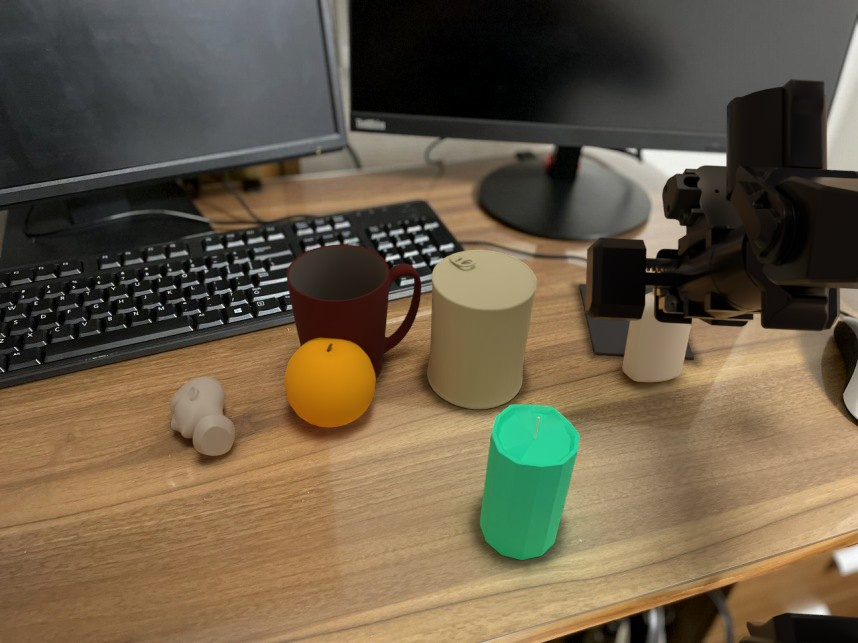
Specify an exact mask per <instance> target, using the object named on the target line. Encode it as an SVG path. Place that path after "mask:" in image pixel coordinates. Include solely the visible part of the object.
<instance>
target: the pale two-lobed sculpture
mask: <svg viewBox="0 0 858 643" xmlns="http://www.w3.org/2000/svg"><path fill="white" fill-rule="evenodd" d="M225 402H226V390H225V388H224V386H223V384H222V383H221V382H220V381H219V380H217V379H216V378H214V377H210V376H199V377H195V378H192V379H190V380H189V381H187V382H185V383H184V384H183V385H182V386H181V387H180V388H178V390H177V391H176V392H175V394H174V395H173V396H172V398H171V400H170V406H169V410H170V413H171V422H170V428H171V430H173V431H175V432H178V433H180V434H181V436H182V437H183V438H185V439H192V445H193V447H194V450H196V451H197V452H198V453H199V454H202V455H206V456H210V457H211V456H212V457H213V456H214V457H215V456H221V455H224V454H226V453H228V452H229V451H230V450H231V448H232V447H233V445H234V442H235V439H236V428H235V425H234V422H232V420H231V419H229V418H228V417H227V416H225V414H224V412H223V410H224V407H225Z"/></svg>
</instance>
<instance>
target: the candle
mask: <svg viewBox="0 0 858 643" xmlns="http://www.w3.org/2000/svg"><path fill="white" fill-rule="evenodd" d="M580 438H581V434H580V433H579V431H578V430H577V429H576V427H574V425H573V424H572V423H571V421H570V420H569V419H567V418H566V417H565V416H564V415H563V414H562V413H561V412H559V410H557V409H556V407H554V406H552V405H551V406H550V405H541V404H527V403H526V404H509V405H508V406H507V407H506V408H505V409H503V410H502V411H500V412H499V413H498V414H497V415H496V416H495V418H494V422H493V425H492V429H491V433H490V441H489V446H488V447H489V448H488V455H487V461H486V462H487V463H486V472H485V477H484V478H485V479H484V486H483V487H484V488H483V493H482V502H481V508H480V509H481V510H480V517H479V527H480V529H481V532H482V535H483V538H484V541H485V542H486V543H487V544H488V545H489V546H491V548H493V549H494V550H495V551H496V552H498V553H499V555H501V556H505V557H507V558H508V557H509V558H511V559H516V560H520V561H525V560H529V559H534V558H539V557H542V556H543V555H544V554H546V552H547V551H549V550H550V548H551V547H552V546H554V544H555V543H556V539H557V535H558V531H559V527H560V523H561V519H562V515H563V511H564V507H565V503H566V501H567V500H566V499H567V495H568V491H569V488H570V483H571V480H572V476H573V472H574V468H575V464H576V460H577V456H578V452H579V446H580Z"/></svg>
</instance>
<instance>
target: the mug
mask: <svg viewBox="0 0 858 643" xmlns="http://www.w3.org/2000/svg"><path fill="white" fill-rule="evenodd" d="M389 267H390V266H389V265H388V262H387V261H386V259H384V257H383V256H381V255H380V254H379V253H377V252H375V251H374V250H371V249H369V248H366V247H363V246H358V245H353V244H329V245H323V246H319V247H315V248H312V249H310V250H307V251H305V252H303V253H302V254H300V255H298V256H297V257H296V258H294V259H293V261H291V262H290V264H289V266H288V268H287V271H286V280H287V281H286V282H287V289H288V294H289V300H290V305H291V310H292V315H293V319H294V324H295V328H296V333H297V337H298V342H299V347H301V346H302V345H304V344H305V343H307V342H308V341H310V340H313V339H316V338H332V339H343V340H347V341H351V342H353V343H355V344H357V345H358V346H359V347H360V348H361V349H362V350H363V351H364V352H365V353H366V354H367V355H368V357H369V359H370V361H371V363H372V366H373V369H374V371H375V376H376V379H377V378H379V375H380V374H381V372H382V368H383V364H384V362H383V361H384V356H385V354H387V352H389V351H391V350H392V349H394V348H395V347H397V346H398V345H399V344H400V343H401V342H402V341H403V340H404V338H405V337H406V336H407V335H408V333H409V332H410V330H411V328H412V326H413V325H414V322H415V320H416V317H417V314H418V312H419V307H420V304H421V296H422V281H421V277H420V274H419V273H418V271H417V269H416V268H415V267H414V266H413V265H411V264H410V263H399V264H396V265H394V266H392V267H391V268H389ZM402 277H411V278H413V291H412V297H411V302H410V305H409V308H408V310H407V313H406V315H405V317H404V319H403V321H402V322H401V324H400V325H399V327H398V328H397V329H396V330H395V331H394V332H393V333H392V334H391V335H390V336H386V332H387V331H386V330H387V320H388V311H389V310H388V308H389V295H390V290H391V286H392V284H393V283H394V282H395V281H396V280H397V279H400V278H402Z"/></svg>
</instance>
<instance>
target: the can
mask: <svg viewBox="0 0 858 643" xmlns="http://www.w3.org/2000/svg"><path fill="white" fill-rule="evenodd" d="M537 288H538V280H537V276H536V273H535V272H534V271H533V270H532V268H531V267H530V266H529V265H527V263H525V262H524V261H522V260H521V259H519V258H517V257H515V256H513V255H510V254H508V253H504V252H500V251H497V250H489V249H469V250H461V251H458V252H455V253H452V254H450V255H447V256H446V257H444V258H442V259H441V260H440V261H438V262H437V263H436V265H435V266H434V268H433V270H432V272H431V314H430V315H431V317H430V318H431V319H430V323H431V324H430V343H429V346H430V347H429V361H428V366H427V371H426V375H427V380H428V383H429V386H430V388H432V390H433V392H434V393H435V394H436V395H438V396H439V397H440V398H441V399H442V400H444V401H446V402H447V403H450V404H452V405H453V406H457V407H460V408H465V409H470V410H487V409H493V408H497V407H501V406H502V405H504V404H506V403H508V402H510V401H511V400H513V399H514V398H515V397H516V396H517V395H518V393H519V392H520V390H521V388H522V386H523V382H524V381H523V380H524V377H523V372H524V362H525V356H526V349H527V342H528V336H529V330H530V323H531V317H532V311H533V307H534V300H535V295H536V291H537Z"/></svg>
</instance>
